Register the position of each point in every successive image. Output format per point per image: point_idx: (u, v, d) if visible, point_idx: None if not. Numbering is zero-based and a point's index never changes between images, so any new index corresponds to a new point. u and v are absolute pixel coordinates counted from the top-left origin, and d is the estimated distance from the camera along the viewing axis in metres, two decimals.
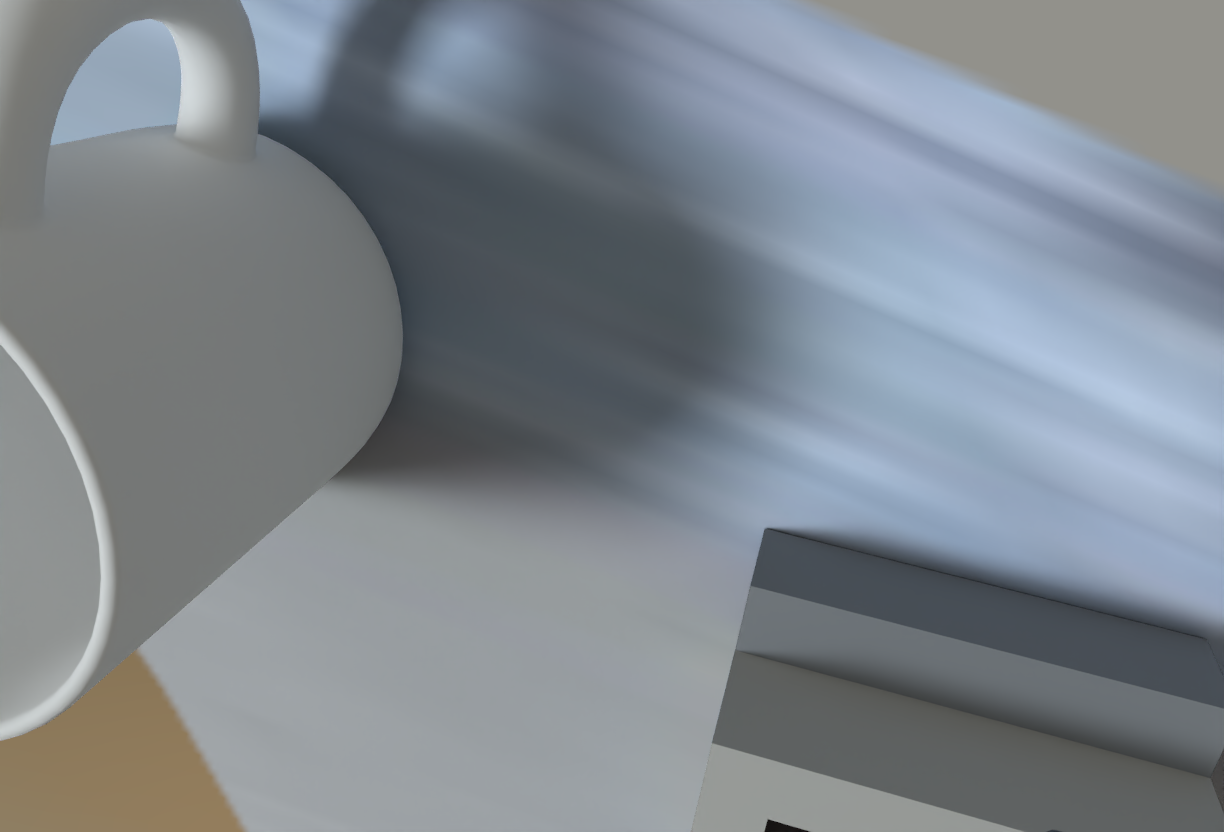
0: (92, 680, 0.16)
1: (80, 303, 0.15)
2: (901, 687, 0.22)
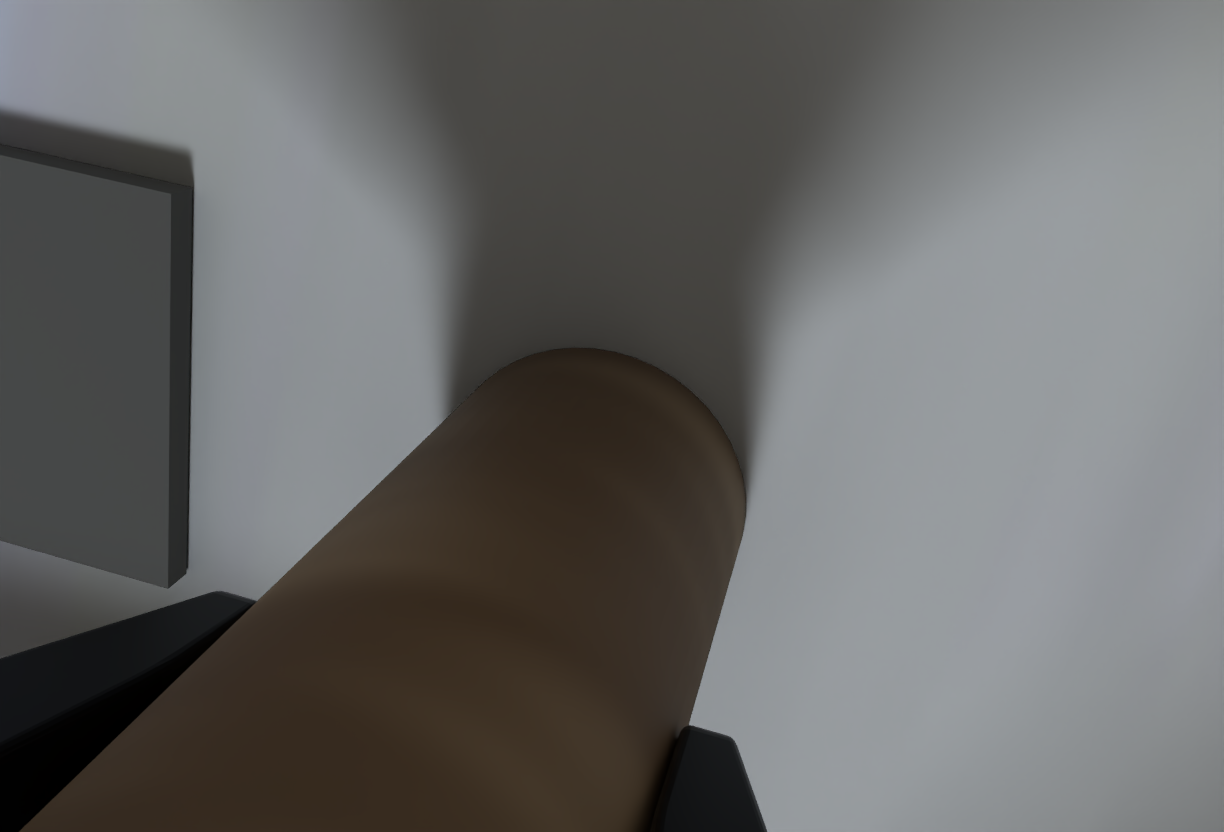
0: None
1: None
2: None
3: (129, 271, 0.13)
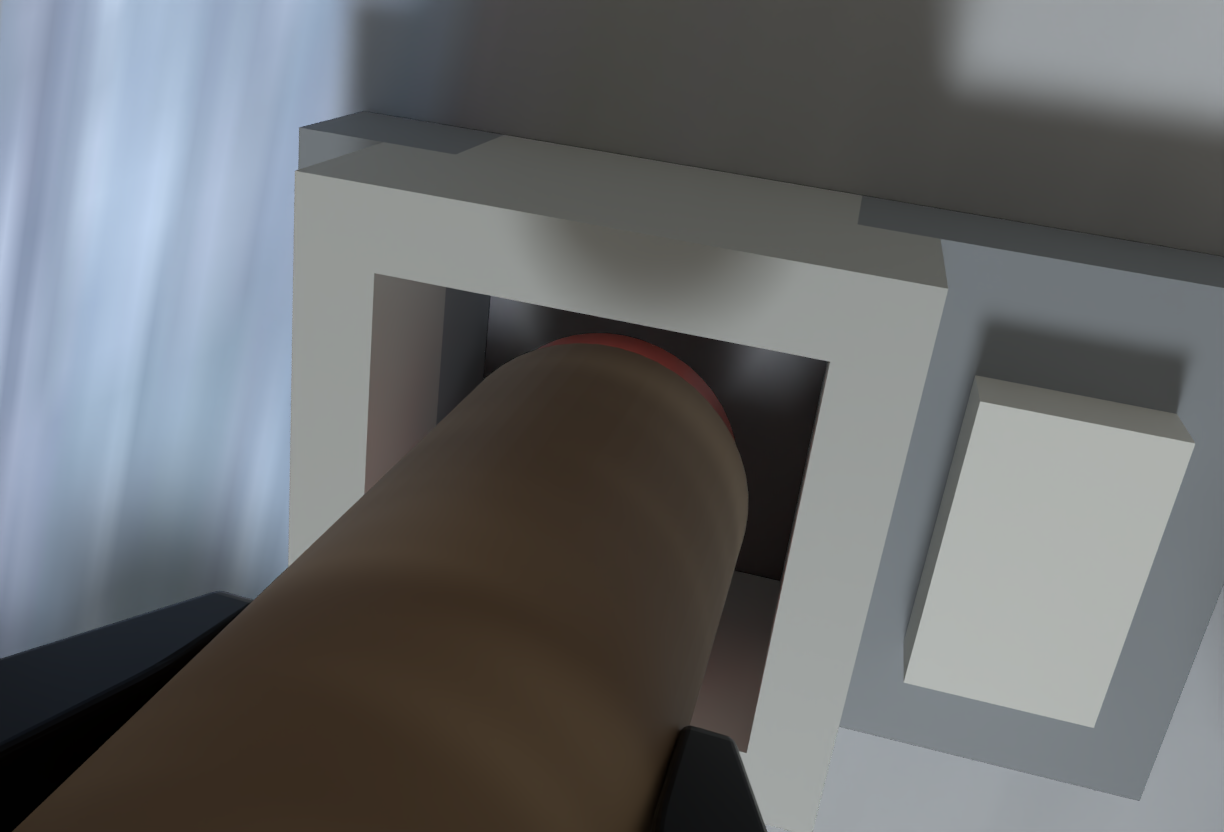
0: None
1: None
2: None
3: None
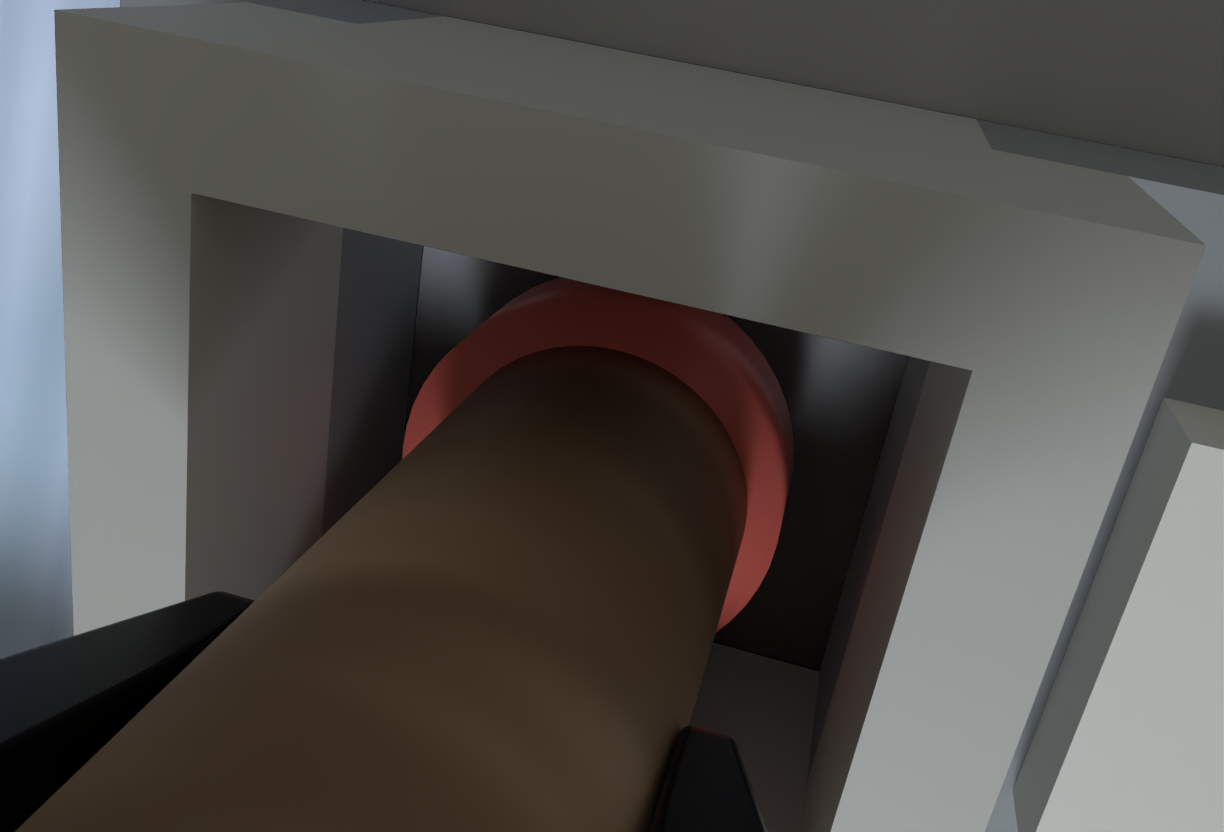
0: None
1: None
2: None
3: None
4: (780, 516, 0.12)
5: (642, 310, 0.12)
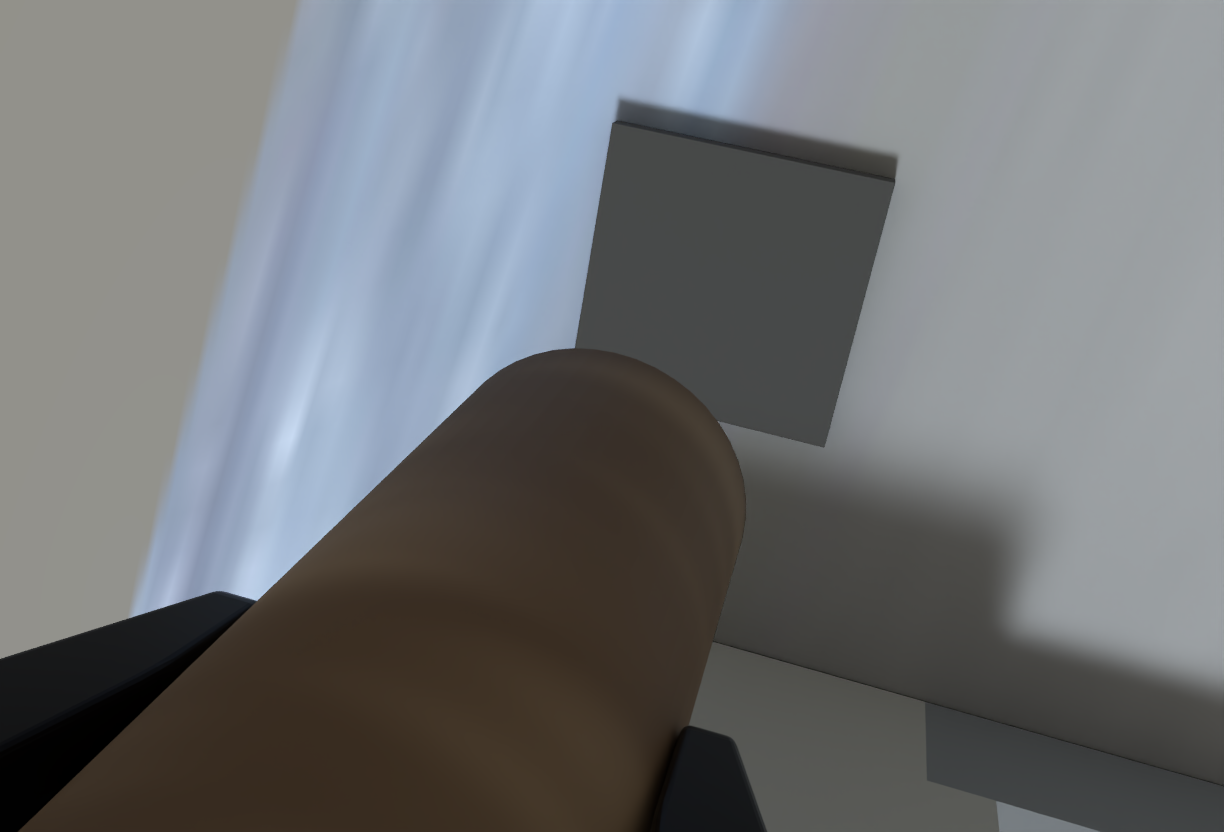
0: None
1: None
2: None
3: (850, 232, 0.20)
4: None
5: None
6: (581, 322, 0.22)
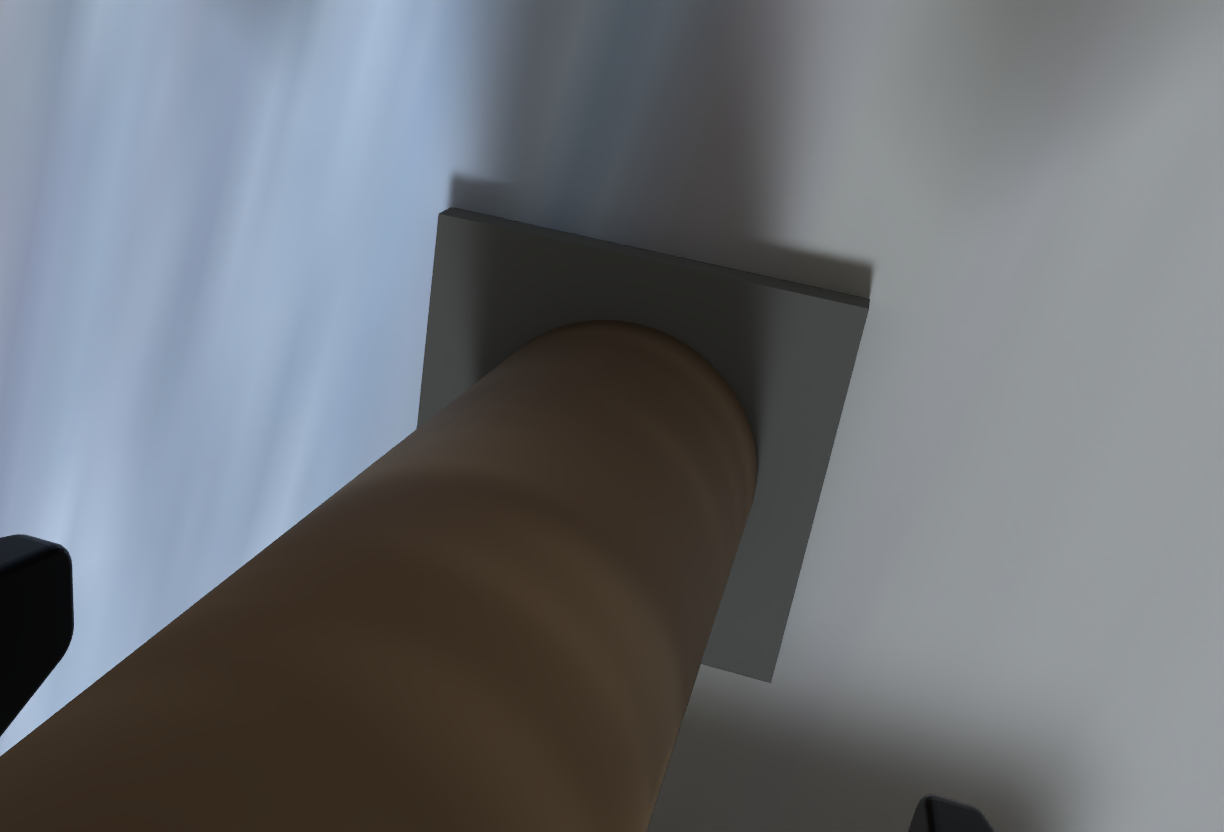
0: None
1: None
2: None
3: (802, 380, 0.13)
4: None
5: None
6: None
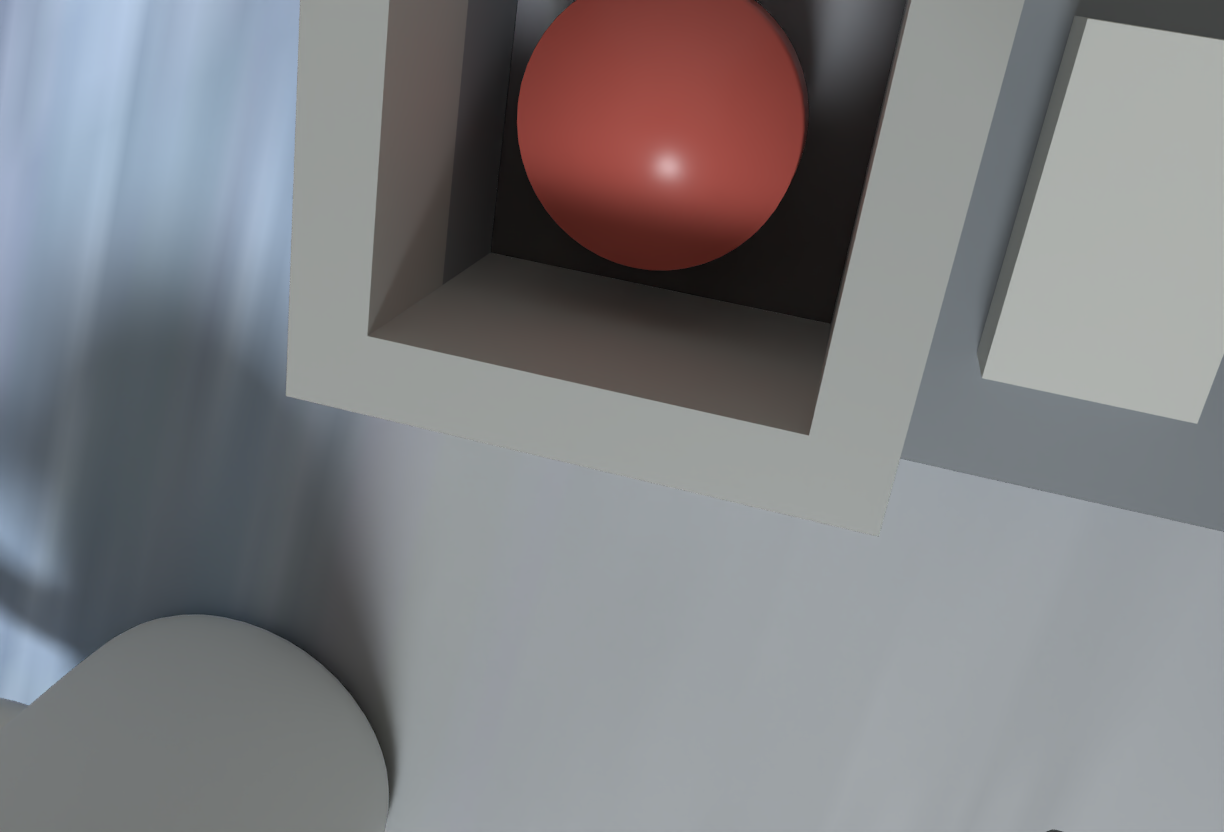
0: None
1: None
2: None
3: None
4: (800, 132, 0.17)
5: None
6: None
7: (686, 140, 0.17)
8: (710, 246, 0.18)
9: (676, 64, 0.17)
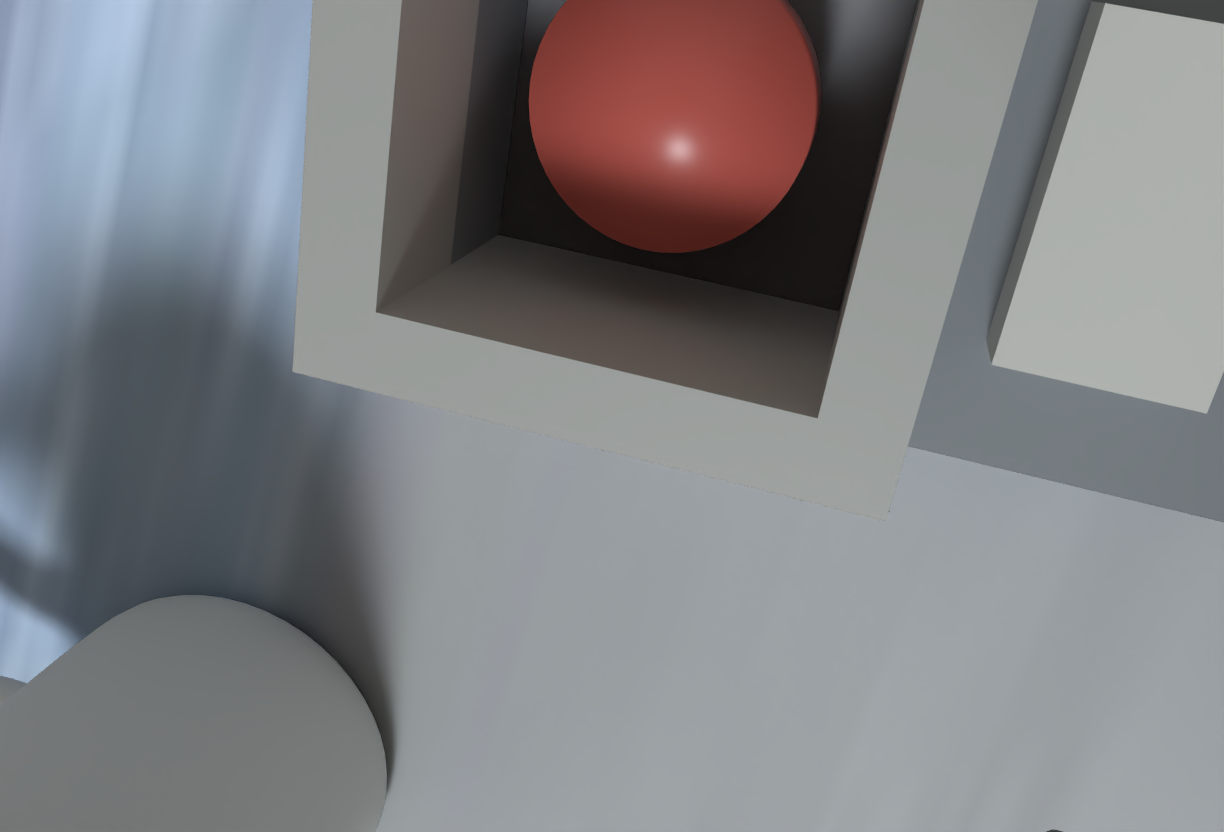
0: None
1: None
2: None
3: None
4: (813, 115, 0.17)
5: None
6: None
7: (698, 122, 0.17)
8: (720, 229, 0.18)
9: (690, 45, 0.17)
